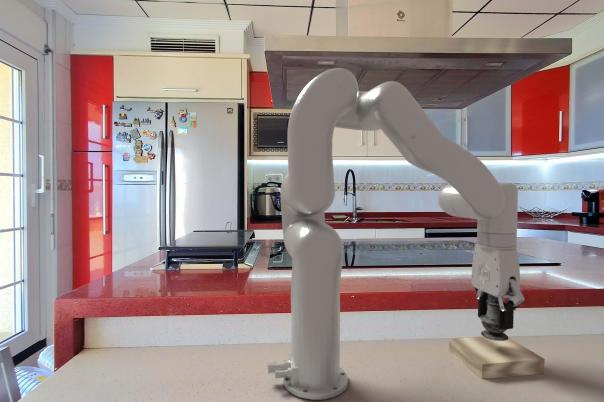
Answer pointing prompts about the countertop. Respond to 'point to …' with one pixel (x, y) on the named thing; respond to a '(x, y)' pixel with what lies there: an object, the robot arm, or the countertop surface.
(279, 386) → the countertop surface
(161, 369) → the countertop surface
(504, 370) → the birch base block
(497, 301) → the weathered stone finial
